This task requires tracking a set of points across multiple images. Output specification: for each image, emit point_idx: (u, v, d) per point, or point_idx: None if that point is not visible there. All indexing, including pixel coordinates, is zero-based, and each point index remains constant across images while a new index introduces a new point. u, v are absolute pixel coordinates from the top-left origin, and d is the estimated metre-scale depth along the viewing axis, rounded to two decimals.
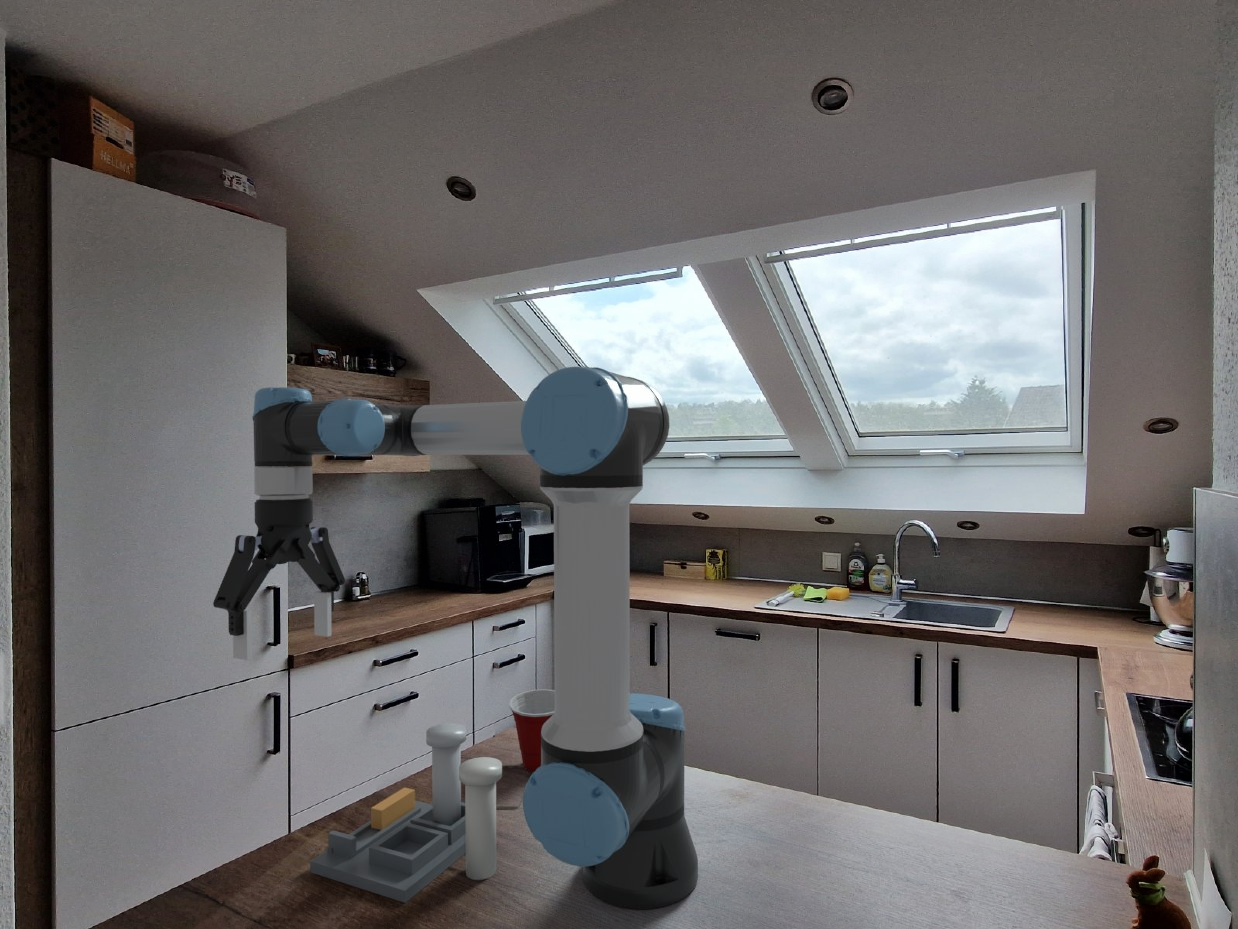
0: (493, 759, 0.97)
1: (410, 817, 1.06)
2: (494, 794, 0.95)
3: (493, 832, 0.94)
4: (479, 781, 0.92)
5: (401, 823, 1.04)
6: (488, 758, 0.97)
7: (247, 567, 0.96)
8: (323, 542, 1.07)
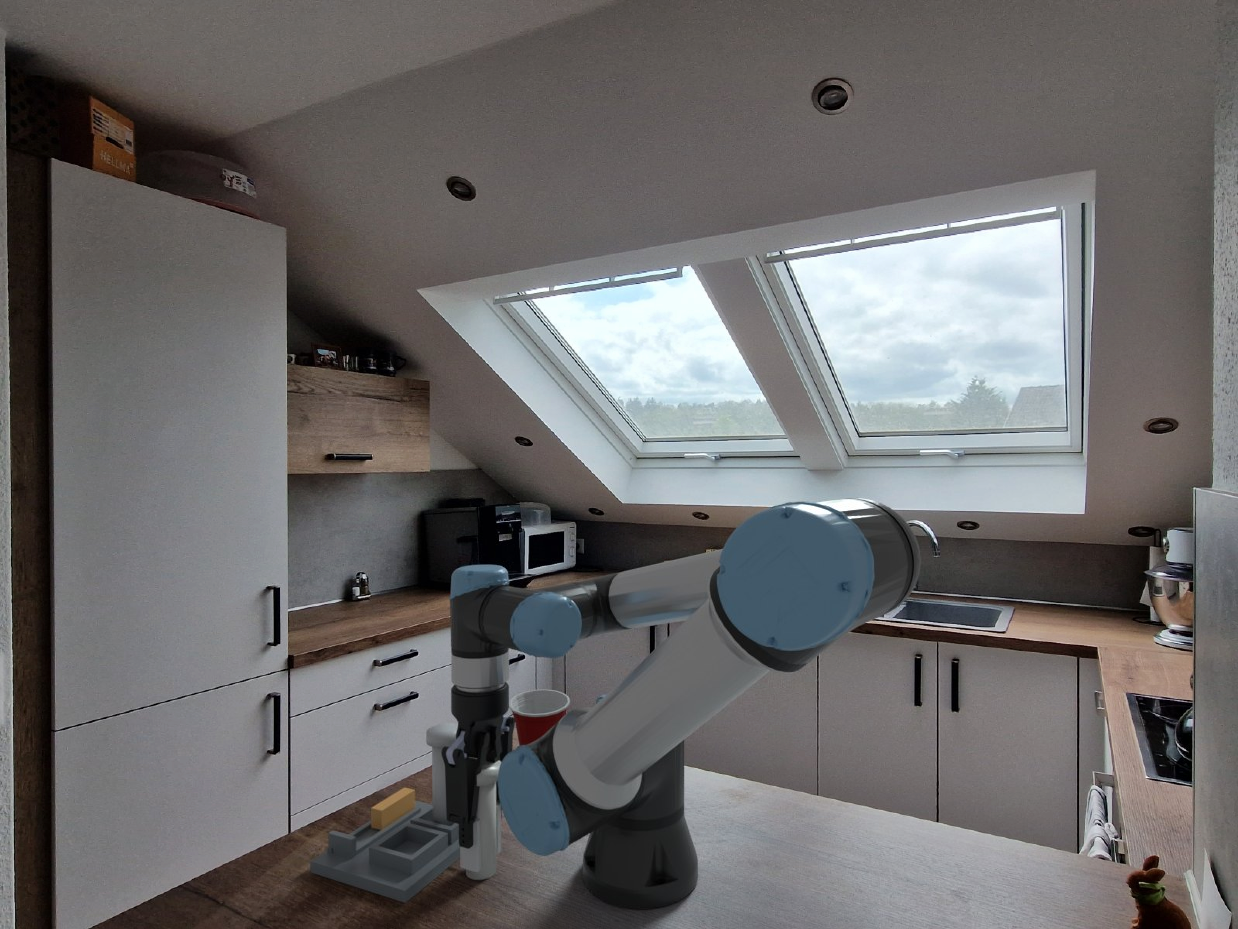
0: None
1: (410, 817, 1.06)
2: (494, 794, 0.95)
3: (493, 832, 0.94)
4: (479, 781, 0.92)
5: (401, 823, 1.04)
6: None
7: (465, 778, 0.90)
8: (508, 733, 0.99)
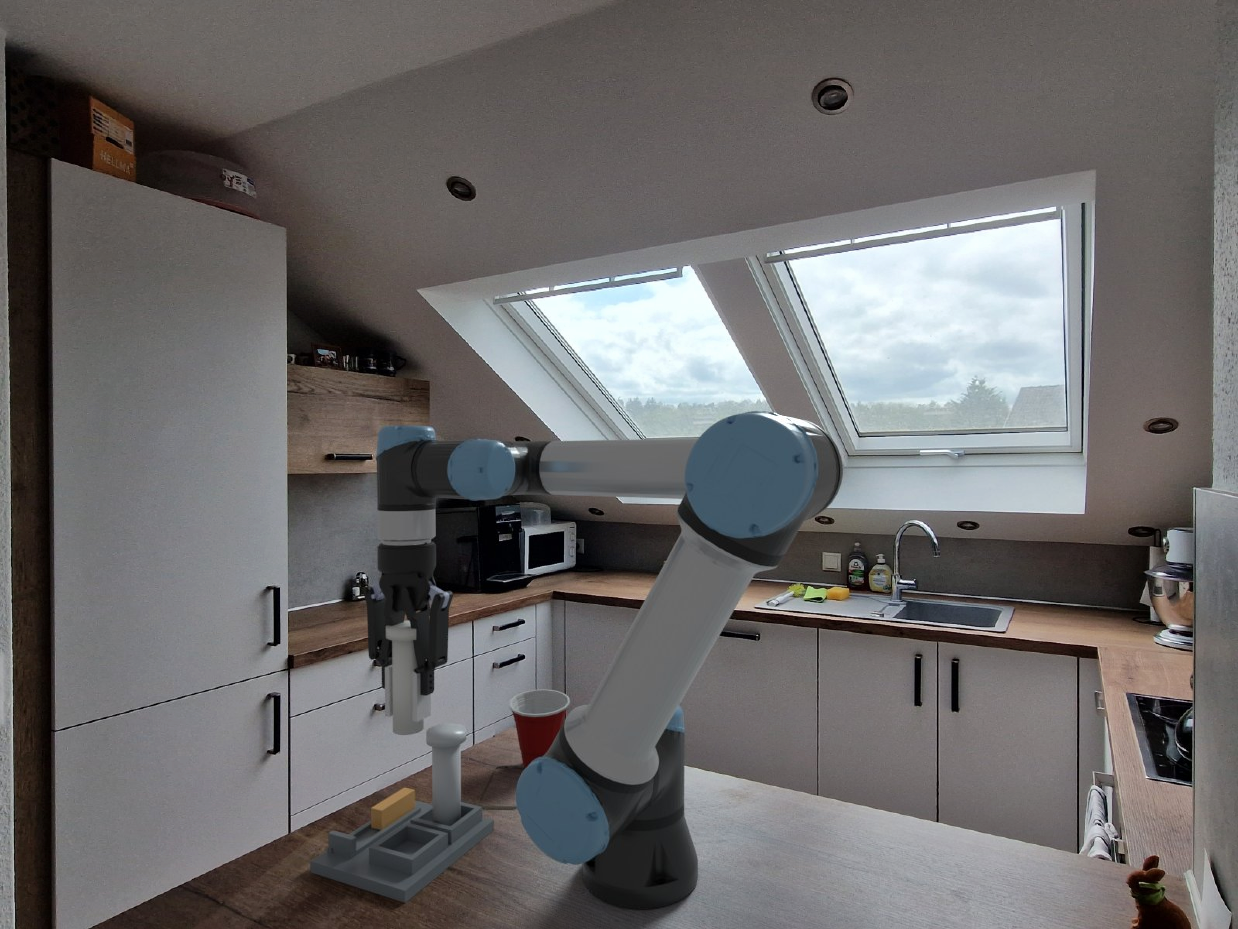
0: None
1: (410, 817, 1.06)
2: (399, 655, 0.94)
3: (397, 692, 0.94)
4: None
5: (401, 823, 1.04)
6: None
7: (372, 617, 0.97)
8: (431, 607, 0.93)
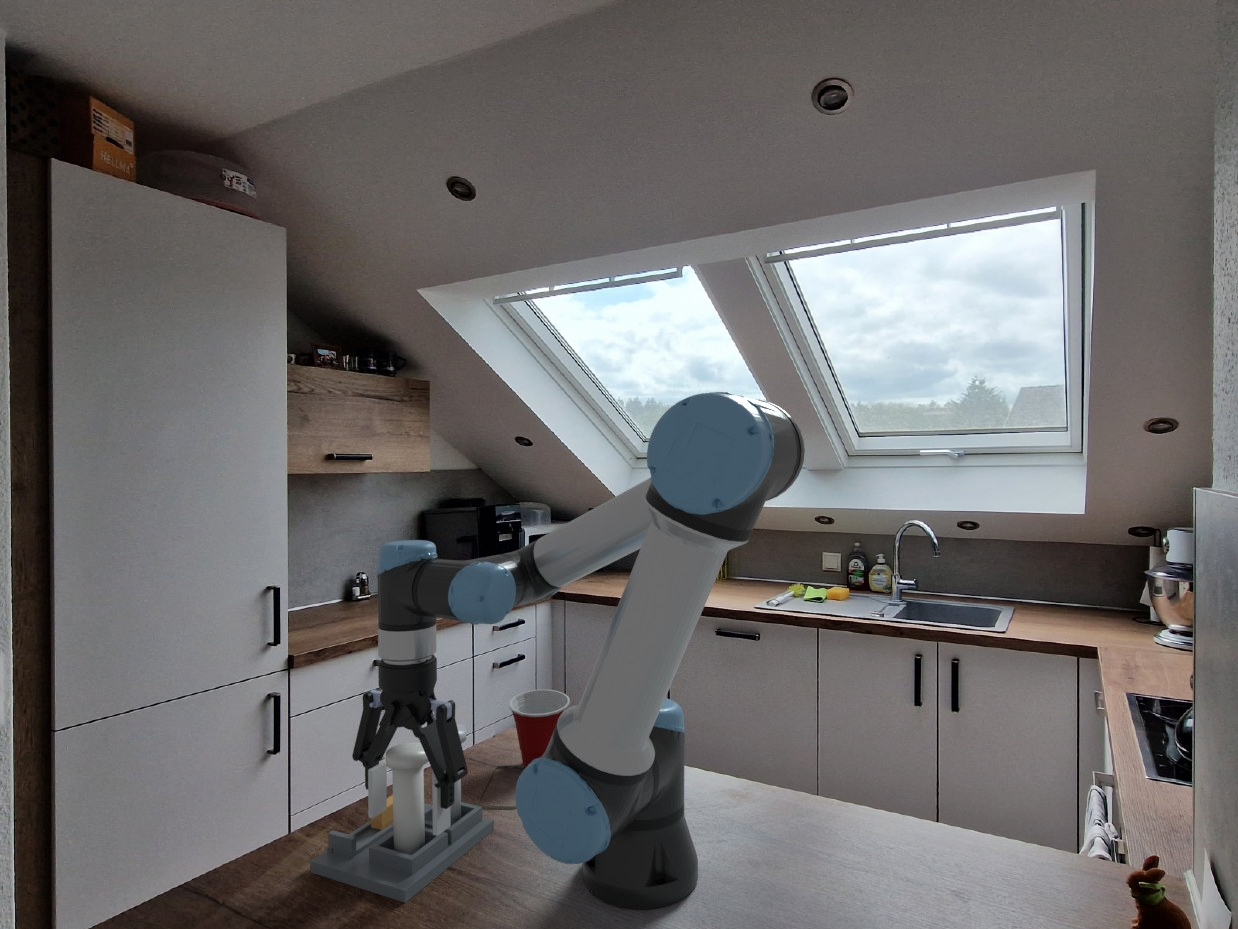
0: (420, 754, 0.95)
1: None
2: (400, 783, 0.95)
3: (398, 820, 0.95)
4: None
5: None
6: (424, 752, 0.96)
7: (365, 723, 0.98)
8: (436, 722, 0.93)
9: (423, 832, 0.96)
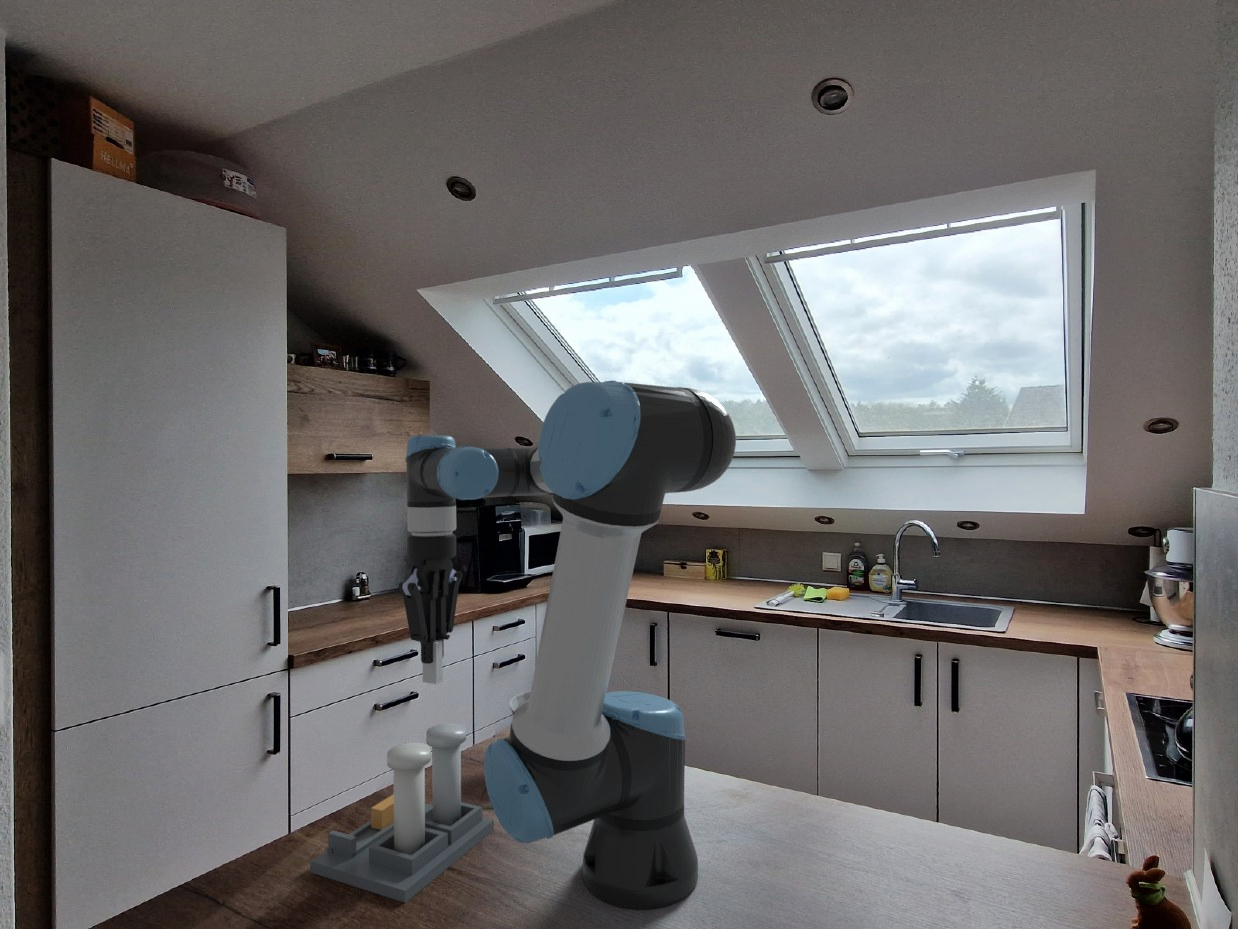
0: (421, 755, 0.95)
1: None
2: (401, 783, 0.95)
3: (399, 820, 0.95)
4: None
5: None
6: (425, 752, 0.96)
7: (421, 605, 1.10)
8: (455, 583, 1.17)
9: (423, 832, 0.96)
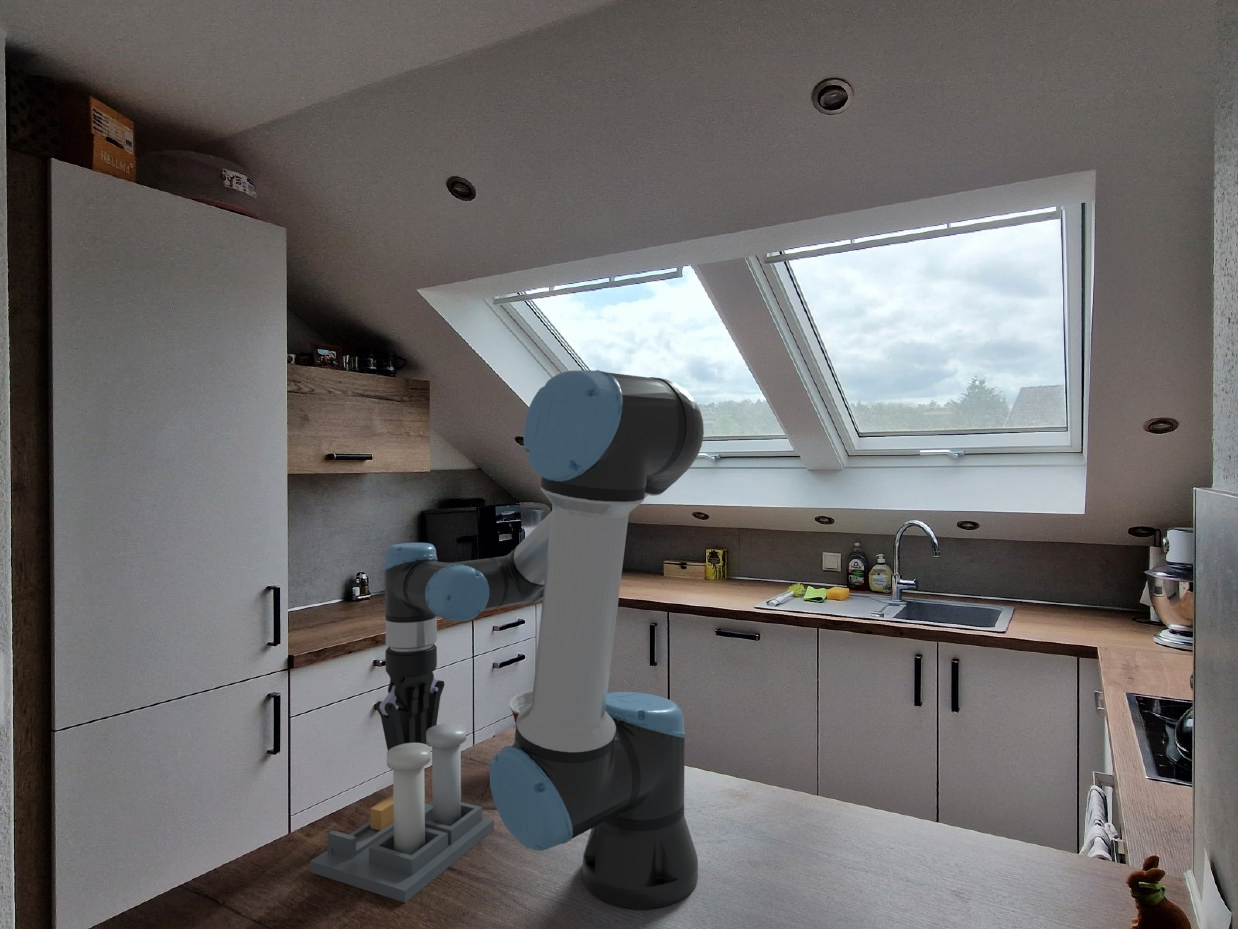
0: (421, 755, 0.95)
1: None
2: (400, 783, 0.94)
3: (399, 820, 0.95)
4: None
5: None
6: (425, 752, 0.96)
7: (399, 725, 1.05)
8: (436, 694, 1.13)
9: (423, 832, 0.96)
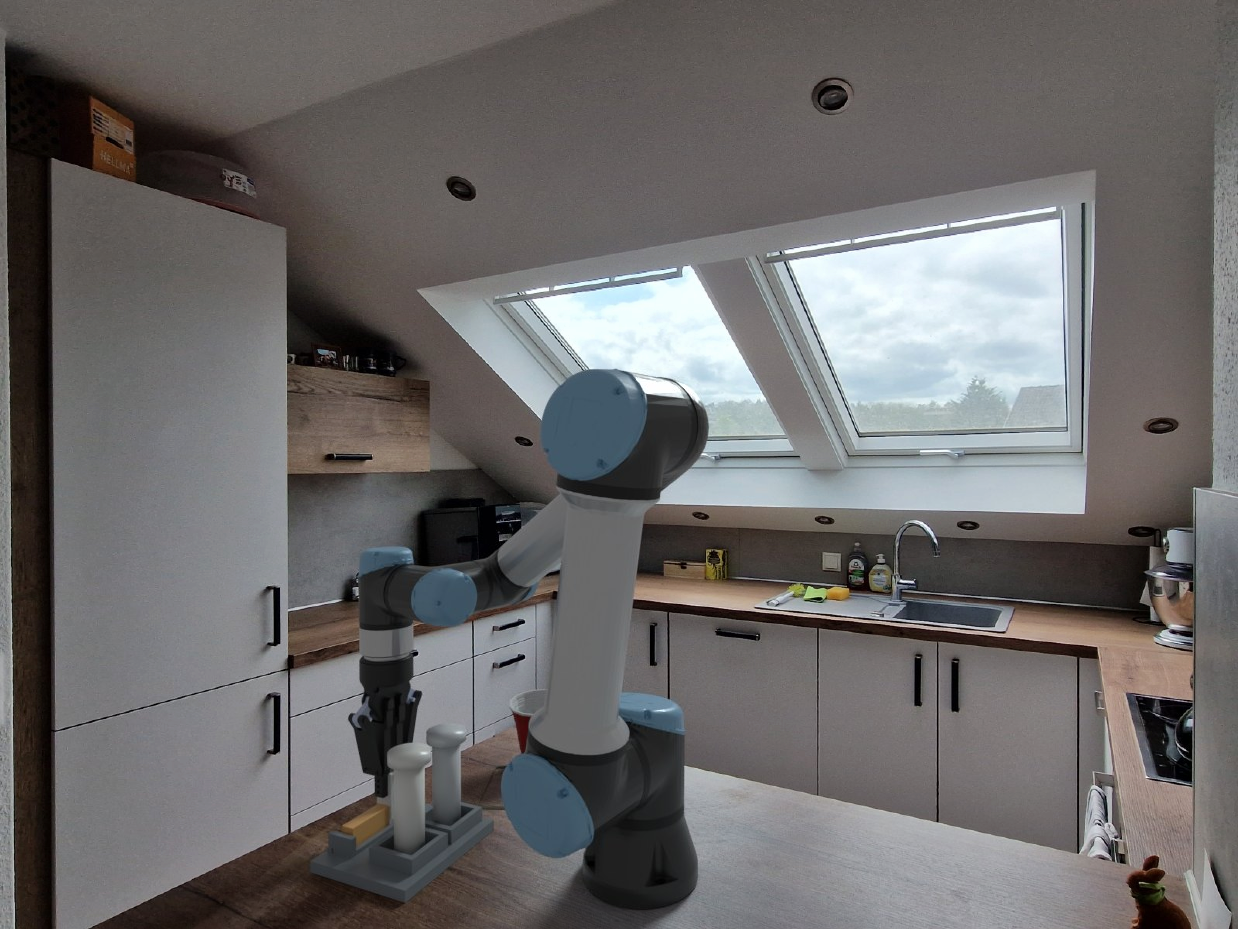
0: (421, 755, 0.95)
1: None
2: (401, 783, 0.94)
3: (399, 820, 0.95)
4: (387, 758, 0.96)
5: None
6: (425, 752, 0.96)
7: (373, 738, 1.01)
8: (414, 704, 1.08)
9: (423, 833, 0.96)
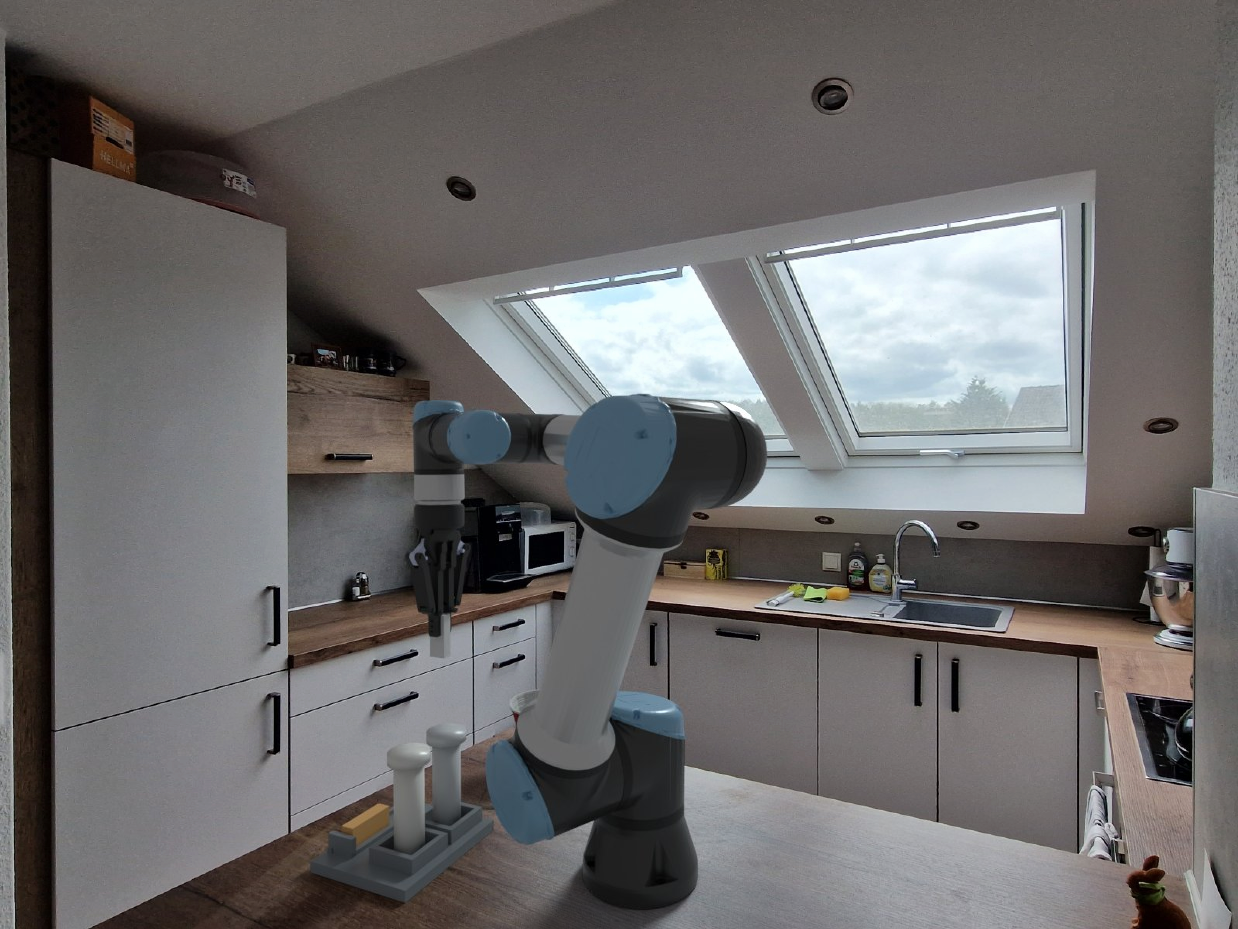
0: (421, 755, 0.95)
1: None
2: (400, 783, 0.94)
3: (399, 820, 0.95)
4: None
5: None
6: (425, 752, 0.96)
7: (429, 576, 1.06)
8: (463, 555, 1.14)
9: (423, 833, 0.96)
